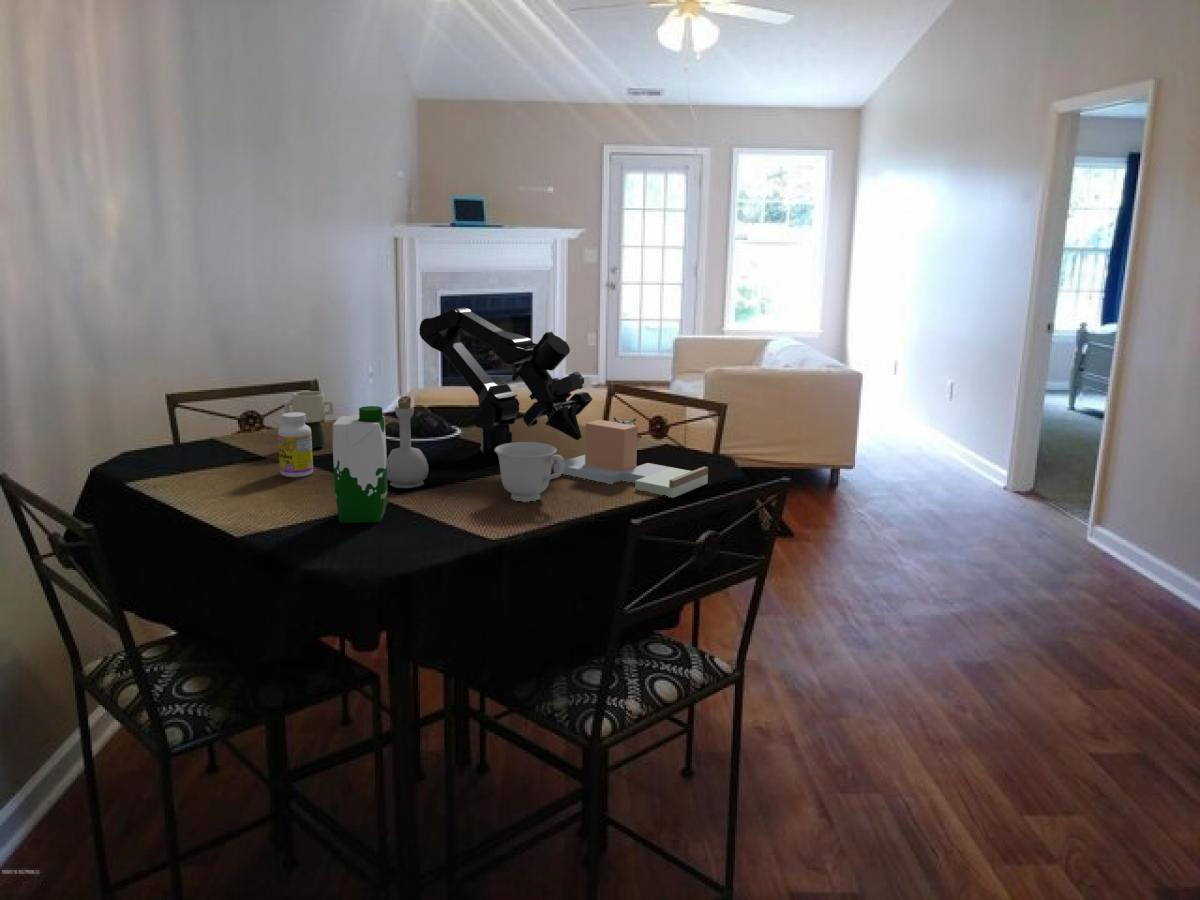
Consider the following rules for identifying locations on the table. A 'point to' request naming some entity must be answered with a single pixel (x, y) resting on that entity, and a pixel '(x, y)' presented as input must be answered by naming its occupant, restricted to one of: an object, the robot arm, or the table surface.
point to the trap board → (641, 476)
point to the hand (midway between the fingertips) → (579, 438)
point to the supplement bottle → (295, 446)
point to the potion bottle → (406, 453)
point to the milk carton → (360, 465)
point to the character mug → (311, 412)
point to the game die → (629, 424)
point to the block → (611, 445)
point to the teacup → (527, 468)
